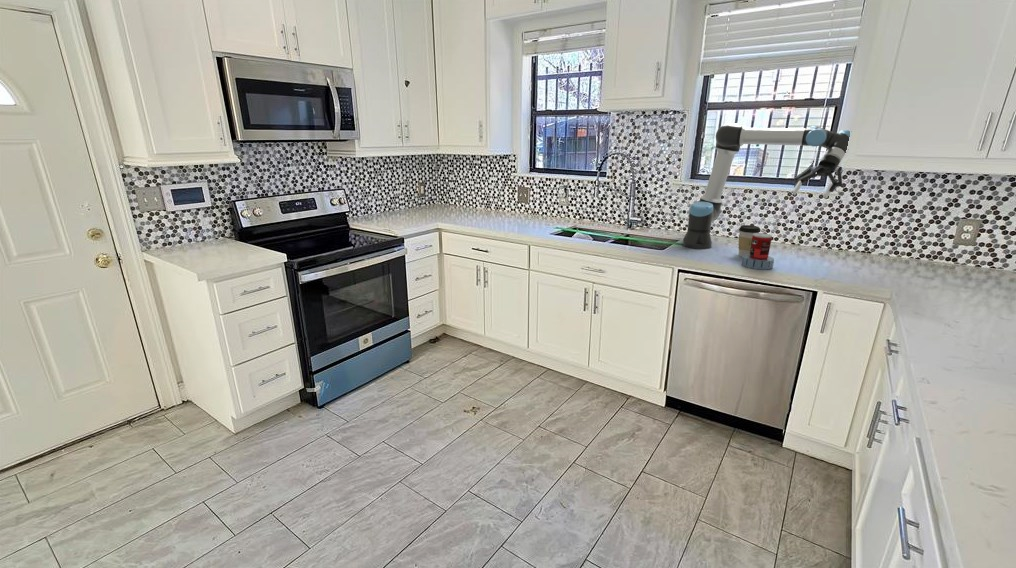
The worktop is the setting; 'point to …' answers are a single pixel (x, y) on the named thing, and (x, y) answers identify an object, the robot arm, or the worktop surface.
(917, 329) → the worktop surface
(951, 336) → the worktop surface
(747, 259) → the grey notched ring
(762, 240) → the canned food
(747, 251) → the coffee cup
